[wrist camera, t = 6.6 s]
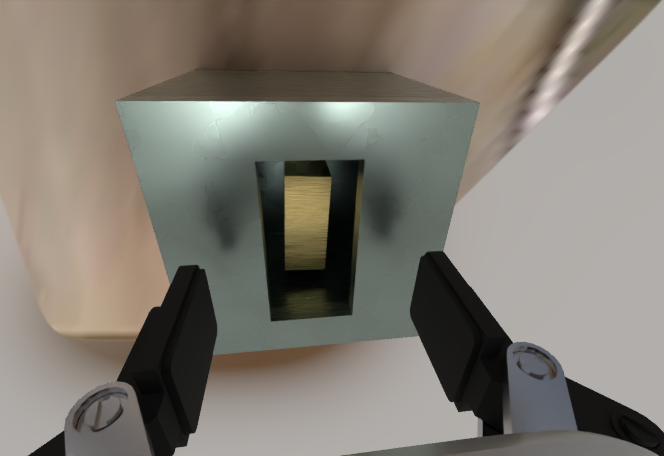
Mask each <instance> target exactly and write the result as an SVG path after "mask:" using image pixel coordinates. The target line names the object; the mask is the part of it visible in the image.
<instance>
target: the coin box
mask: <svg viewBox="0 0 664 456" xmlns="http://www.w3.org/2000/svg"><path fill="white" fill-rule="evenodd" d="M115 102H116V105H117V108H118V112H119V115H120V118H121V122H122V125H123V128H124V132H125V135H126V138H127V142H128V145H129V148H130V152H131V155H132V158H133V162H134V165H135V168H136V172H137V175H138V178H139V182H140V185H141V188H142V192H143V195H144V198H145V202H146V205H147V208H148V212H149V215H150V219H151V222H152V225H153V229H154V232H155V235H156V239H157V242H158V245H159V249H160V252H161V255H162V259H163V262H164V265H165V269H166V272H167V275H168V279H169V282H170V285H171V283H172V280H173V278H174V276H175V274H176V271H177V269H178V267H179V266H184V265H198V266H199V268H200V269H205V272H206V276H207V280H208V285H209V289H210V294H211V298H212V303H213V307H214V312H215V317H216V321H217V337H216V342H215V347H214V351H213V355H218V354H229V353H239V352H250V351H261V350H272V349H283V348H294V347H305V346H316V345H326V344H337V343H347V342H359V341H369V340H381V339H392V338H402V337H414V336H419V335H418V333H417V330H416V328H415V326H414V324H413V322H412V319H411V317H410V305H411V300H412V295H413V291H414V286H415V281H416V276H417V271H418V266H419V261H420V257H421V256H424V255H425V253H426V252H429V251H443V250H444V245H445V241H446V237H447V233H448V229H449V225H450V221H451V217H452V213H453V209H454V205H455V201H456V197H457V193H458V189H459V185H460V181H461V177H462V173H463V169H464V165H465V160H466V156H467V152H468V148H469V144H470V140H471V136H472V132H473V128H474V124H475V120H476V116H477V112H478V108H479V104H480V103H479V102H476V101H473V100H470V99H467V98H464V97H461V96H458V95H455V94H452V93H449V92H446V91H443V90H440V89H438V88H435V87H432V86H429V85H426V84H423V83H420V82H417V81H414V80H411V79H408V78H405V77H402V76H399V75H396V74H393V73H384V72H326V71H267V70H209V69H196V70H193V71H191V72H188V73H186V74H183V75H181V76H178V77H175V78H173V79H170V80H168V81H165V82H163V83H160V84H157V85H155V86H152V87H150V88H147V89H145V90H142V91H139V92H137V93H134V94H132V95H129V96H127V97H124V98H122V99H119V100H116V101H115ZM306 160H326V162H327V165H328V168H329V171H330V174H331V177H332V178H331V191H330V205H329V218H328V232H327V245H326V259H325V269H319V270H285V232H284V161H306Z"/></svg>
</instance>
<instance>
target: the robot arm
mask: <svg viewBox="0 0 664 456" xmlns="http://www.w3.org/2000/svg"><path fill="white" fill-rule="evenodd" d="M410 317H411V319H412V322H413V324H414V326H415V328H416V330H417V333H418V335H419V337H420V339H421V341H422V343H423V346H424V348H425V350H426V352H427V354H428V356H429V359H430V361H431V363H432V365H433V367H434V370H435V372H436V374H437V376H438V378H439V381H440V383H441V385H442V387H443V389H444V392H445V394H446V396H447V398H448V400H449V401H450V402H454V403H455V406H456V408H457V410H458V412H463V411H471V410H472V411H473V413H474V415H475V416H476V417H478V437H477V438H470V439H462V440H455V441H447V442H439V443H432V444H424V445H417V446H409V447H402V448H396V449H395V448H394V449H387V450H381V451H372V452H366V453H358V454H350V455H343V456H664V432H663V431H662V430H661V429H660V428H659V427H658V426H657V425H656V424H654V423H653V422H652V421H650V420H649V419H648V418H647V417H645V416H643V415H641V414H640V413H638V412H636V411H634V410H632V409H630V408H628V407H626V406H624V405H622V404H620V403H618V402H616V401H614V400H612V399H610V398H608V397H605V396H604V395H601V394H599V393H597V392H595V391H593V390H591V389H589V388H587V387H585V386H583V385H581V384H579V383H577V382H574V381H573V380H570V379H568V378H566V377H565V376H564V371H563V369H562V367H561V365H560V363H559V362H558V361H557V359H556V358H555V357H554V356H552V355H551V354H550V353H549V352H548V351H546V350H545V349H543V348H541V347H539V346H537V345H534V344H532V343H527V342H516V343H513V342H512V341H511V339H510V338H509V337H508V335H507V334H506V333H505V332H504V330H503V329H502V328H501V326H500V325H499V324H498V322H497V321H496V320H495V318H494V317H493V316H492V315H491V313H490V312H489V310H488V309H487V308H486V306H485V305H484V304H483V302H482V301H481V300H480V298H479V297H478V296H477V294H476V293H475V292H474V290H473V289H472V288H471V287H470V286H469V285H468V284H467V282H466V281H465V280H464V278H463V277H462V276H461V274H460V273H459V272H458V271H457V269H456V268H455V266H454V265H453V264H452V263H451V261H450V260H449V258H448V257H447V256H446V254H445V253H444V252H443V251H429V252H426V253H425V255H424V256H421V257H420V261H419V266H418V271H417V276H416V281H415V286H414V291H413V295H412V300H411V305H410ZM216 337H217V321H216V317H215V312H214V307H213V303H212V298H211V294H210V289H209V285H208V280H207V276H206V272H205V269H200V268H199V266H198V265H184V266H179V267H178V269H177V271H176V274H175V276H174V278H173V280H172V283H171V285H170V287H169V289H168V292H167V294H166V296H165V298H164V301H163V303H162V305H161V306H160V307H154V308H152V309H151V311H150V312H149V314H148V316H147V318H146V320H145V323H144V325H143V327H142V329H141V331H140V333H139V335H138V337H137V339H136V341H135V344H134V345H133V348H132V350H131V352H130V354H129V356H128V358H127V360H126V363H125V364H124V366H123V368H122V371H121V373H120V375H119V377H118V379H117V381H116V382H111V383H106V384H104V385H101V386H98V387H96V388H95V389H93V390H91V391H90V392H88V393H87V394H85V395H84V396H83V397H82V398H81V399H79V400H78V401H77V402H76V404H75V405H74V406H73V407H72V408H71V410H70V412H69V414H68V416H67V418H66V421H65V427H64V431H63V432H61V433H60V434H59V435H57V436H56V437H54V438H53V439H51V440H50V441H49V442H47V443H46V444H44V445H43V446H41V447H40V448H38V449H37V450H36V451H34V452H33V453H31V454H30V455H28V456H172V455H173V454H174V452H175V448H176V447H184V446H187V442H188V438H189V434H191V433H195V431H196V429H197V425H198V420H199V416H200V411H201V406H202V401H203V397H204V392H205V388H206V383H207V378H208V374H209V369H210V365H211V360H212V356H213V351H214V347H215V342H216Z"/></svg>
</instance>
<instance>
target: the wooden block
mask: <svg viewBox="0 0 664 456" xmlns="http://www.w3.org/2000/svg"><path fill="white" fill-rule="evenodd" d="M331 178H332V177H331V174H330V171H329V168H328V165H327V162H326V160H306V161H284V232H285V270H319V269H325V259H326V245H327V232H328V218H329V205H330V191H331Z"/></svg>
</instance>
